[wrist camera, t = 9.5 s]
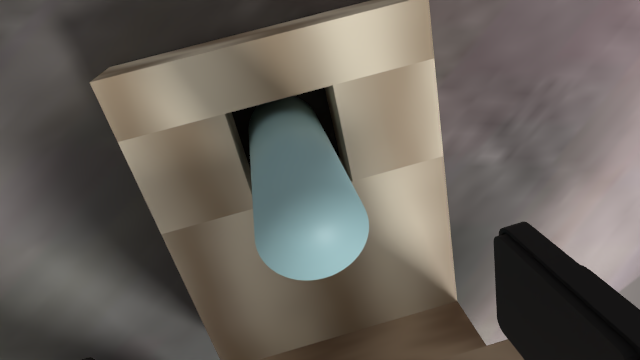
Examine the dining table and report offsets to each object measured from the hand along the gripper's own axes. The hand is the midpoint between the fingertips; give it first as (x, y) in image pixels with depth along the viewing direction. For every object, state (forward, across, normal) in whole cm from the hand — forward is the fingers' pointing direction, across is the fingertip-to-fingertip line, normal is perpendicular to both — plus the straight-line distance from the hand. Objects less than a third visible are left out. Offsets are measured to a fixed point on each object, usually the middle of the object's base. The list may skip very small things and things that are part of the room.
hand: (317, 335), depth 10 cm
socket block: (+14, -1, +4) cm, 14 cm away
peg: (+14, -1, 0) cm, 14 cm away
